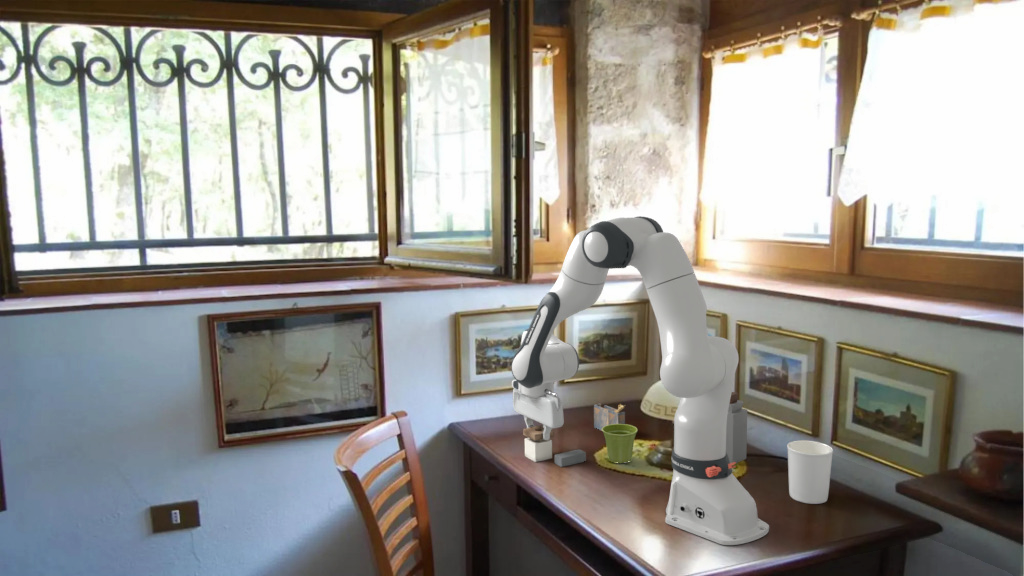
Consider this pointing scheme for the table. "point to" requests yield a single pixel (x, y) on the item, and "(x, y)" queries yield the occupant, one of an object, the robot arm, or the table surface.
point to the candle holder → (809, 471)
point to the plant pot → (619, 441)
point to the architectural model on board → (608, 416)
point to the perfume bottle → (736, 430)
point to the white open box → (538, 449)
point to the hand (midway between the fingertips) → (538, 435)
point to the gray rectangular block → (570, 458)
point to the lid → (535, 432)
